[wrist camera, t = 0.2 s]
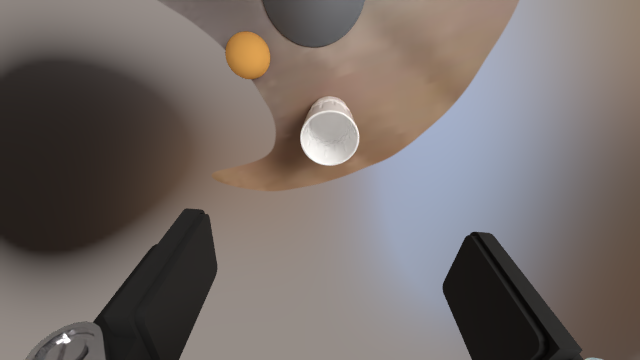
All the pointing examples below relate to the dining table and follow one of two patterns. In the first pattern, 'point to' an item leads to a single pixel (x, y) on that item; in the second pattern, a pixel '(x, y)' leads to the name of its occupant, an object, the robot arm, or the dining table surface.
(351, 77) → the dining table surface
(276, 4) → the disc
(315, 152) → the white cup
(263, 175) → the dining table surface
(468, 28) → the dining table surface
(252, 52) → the ball
